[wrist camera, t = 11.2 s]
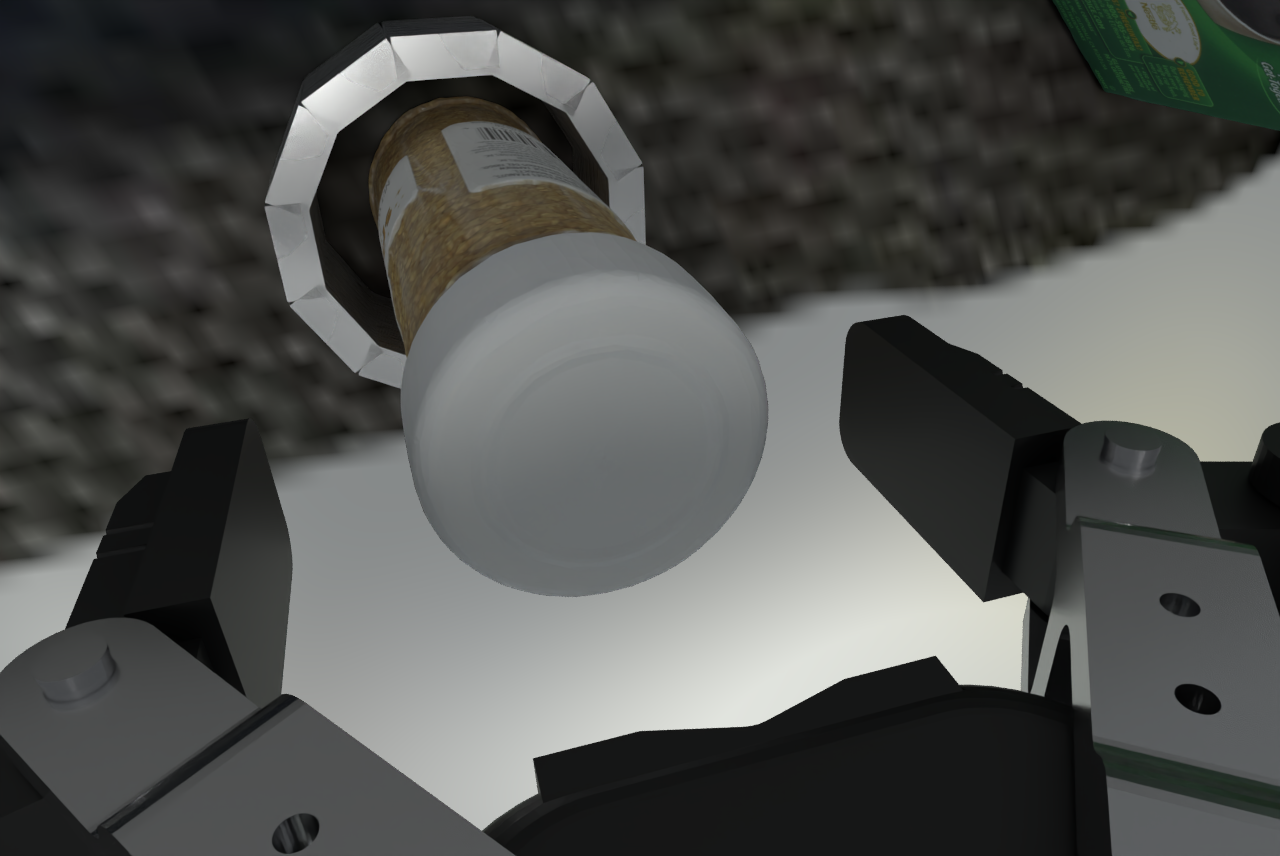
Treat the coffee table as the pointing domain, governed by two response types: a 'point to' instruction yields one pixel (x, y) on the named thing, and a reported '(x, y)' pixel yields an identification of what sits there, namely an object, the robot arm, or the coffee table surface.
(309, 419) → the coffee table surface
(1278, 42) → the coffee box
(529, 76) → the aluminium ring
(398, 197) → the sprinkles bottle
